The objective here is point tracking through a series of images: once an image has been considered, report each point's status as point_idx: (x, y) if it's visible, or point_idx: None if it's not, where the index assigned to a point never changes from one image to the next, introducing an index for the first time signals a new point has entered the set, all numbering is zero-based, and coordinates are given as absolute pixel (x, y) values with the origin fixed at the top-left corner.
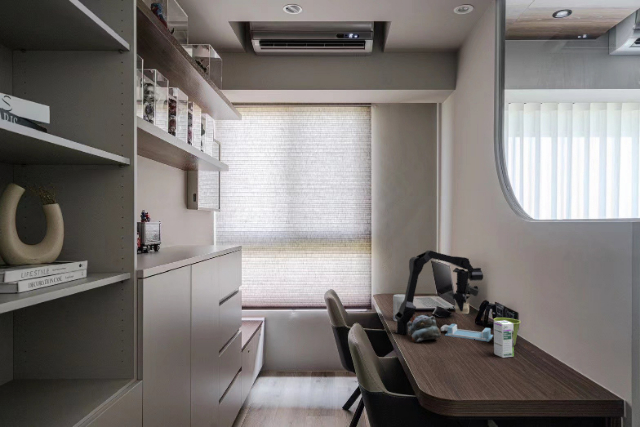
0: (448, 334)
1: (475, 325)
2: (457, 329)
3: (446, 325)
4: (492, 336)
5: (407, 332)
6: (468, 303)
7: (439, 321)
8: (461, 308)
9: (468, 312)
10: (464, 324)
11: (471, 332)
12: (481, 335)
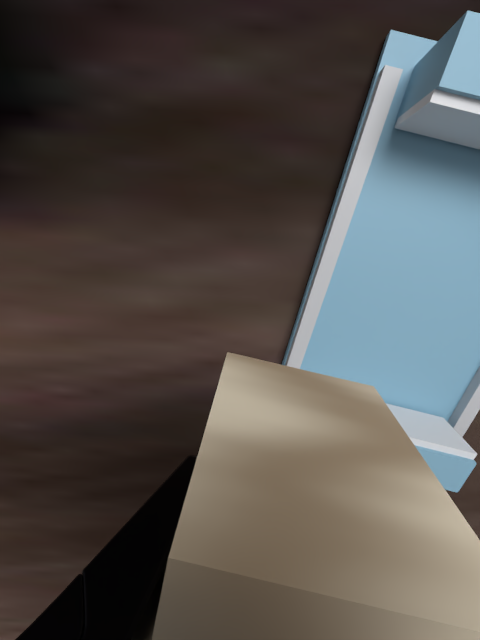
0: None
1: (8, 213)
2: None
3: None
4: (427, 45)
5: None
6: (308, 586)
7: (29, 469)
8: None
9: (281, 369)
10: (24, 308)
11: (332, 267)
12: (436, 174)
